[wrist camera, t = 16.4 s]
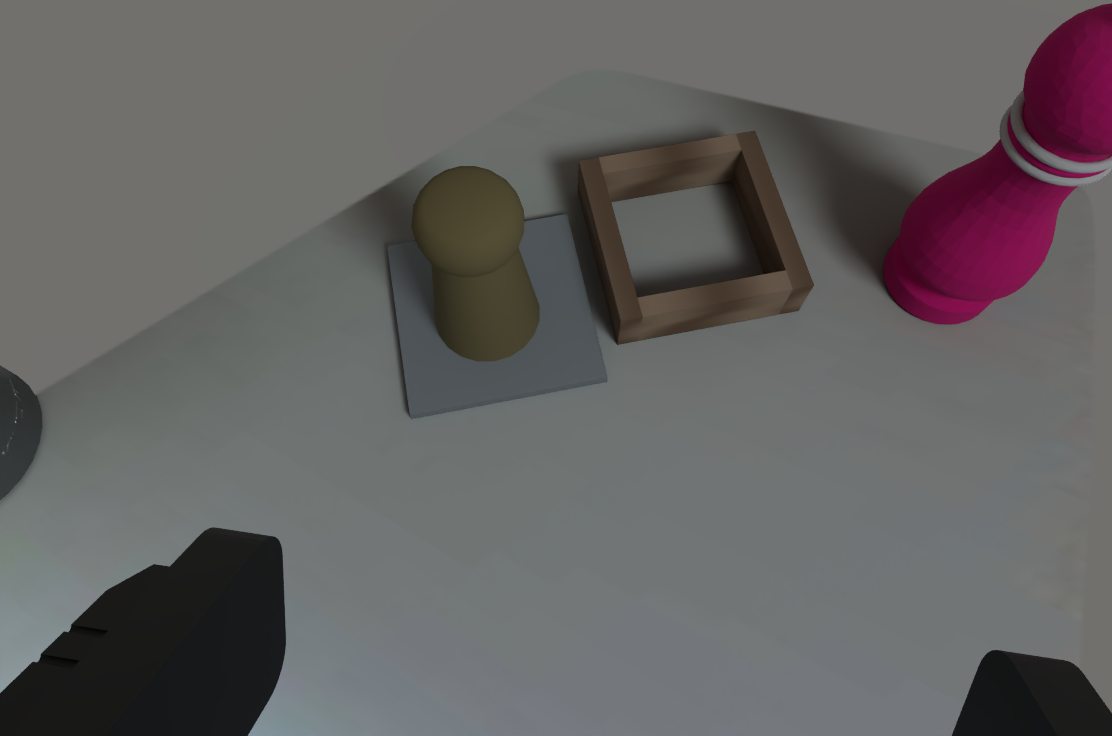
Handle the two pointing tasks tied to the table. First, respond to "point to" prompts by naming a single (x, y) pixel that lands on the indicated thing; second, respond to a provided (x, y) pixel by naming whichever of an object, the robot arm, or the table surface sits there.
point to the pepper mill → (1011, 183)
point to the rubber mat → (540, 367)
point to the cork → (476, 263)
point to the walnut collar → (684, 170)
